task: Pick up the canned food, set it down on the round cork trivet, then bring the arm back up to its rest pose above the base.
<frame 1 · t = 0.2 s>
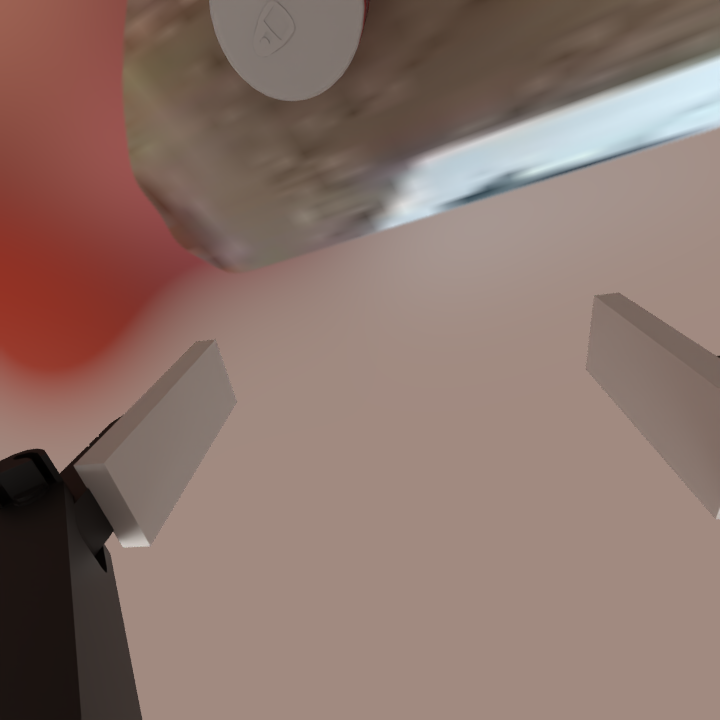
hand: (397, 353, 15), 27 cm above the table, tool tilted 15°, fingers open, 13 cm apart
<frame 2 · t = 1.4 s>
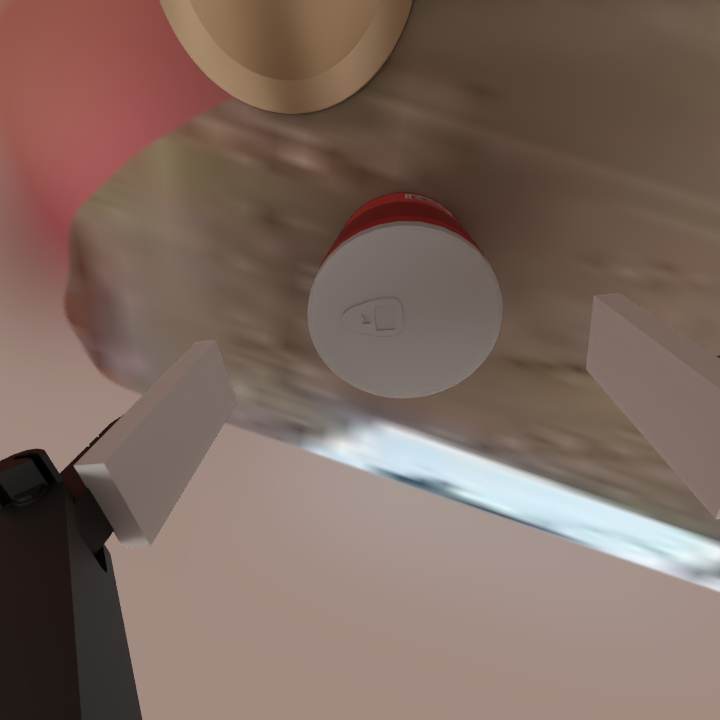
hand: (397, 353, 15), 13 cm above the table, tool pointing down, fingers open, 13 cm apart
canned food: (400, 253, 26), on the table
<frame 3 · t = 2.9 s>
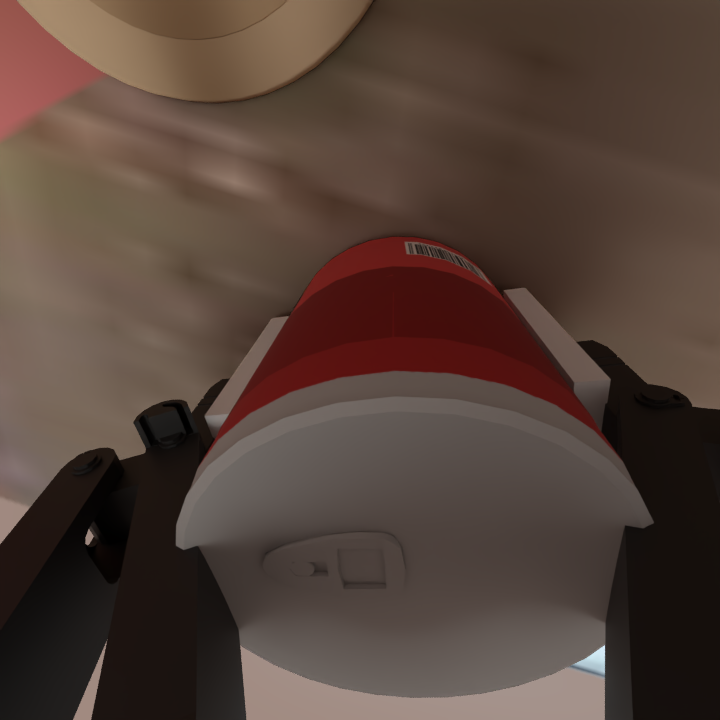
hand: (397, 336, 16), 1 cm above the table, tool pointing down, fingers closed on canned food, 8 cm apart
canned food: (397, 326, 17), on the table, touching gripper
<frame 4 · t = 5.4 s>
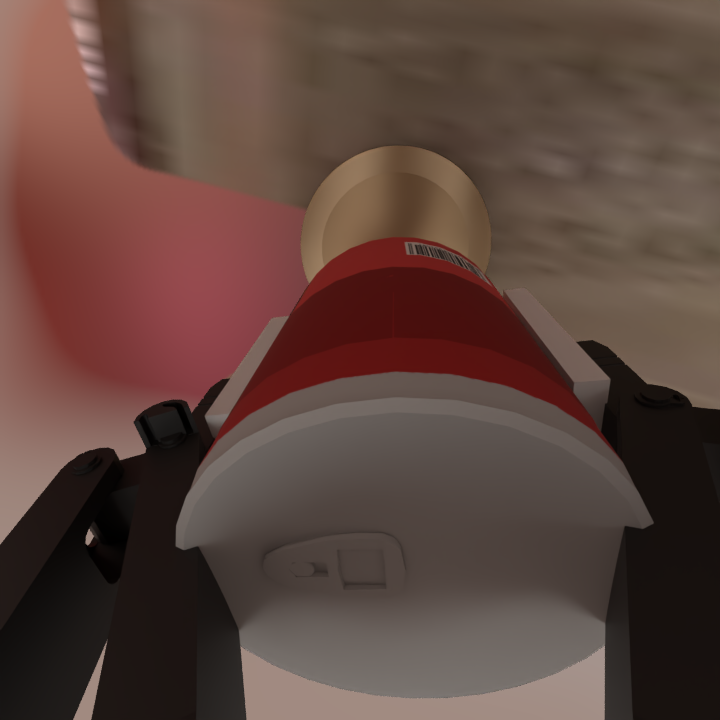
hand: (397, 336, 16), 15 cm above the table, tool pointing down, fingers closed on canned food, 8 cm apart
trivet: (394, 249, 29), on the table
canned food: (397, 326, 17), point 14 cm above the table, touching gripper
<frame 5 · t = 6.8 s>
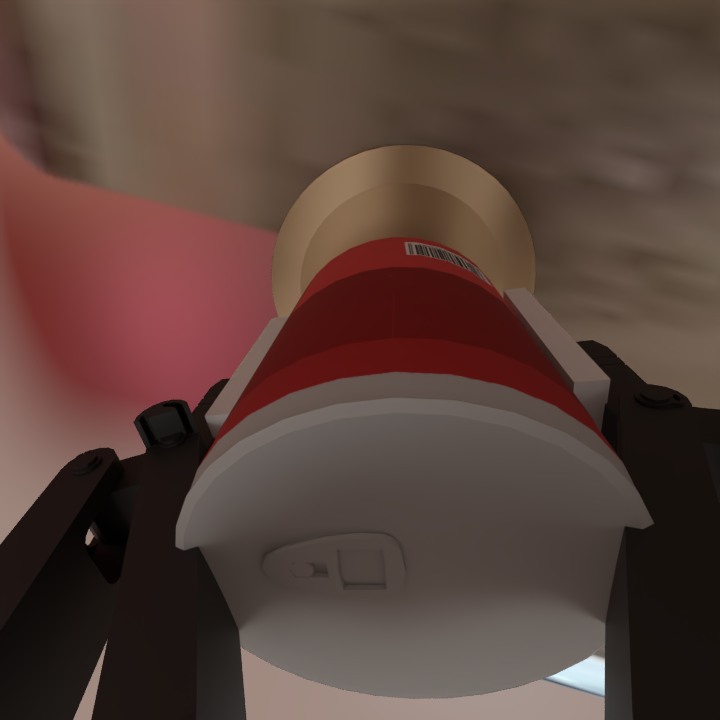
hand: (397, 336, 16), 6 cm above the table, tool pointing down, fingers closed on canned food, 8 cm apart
trivet: (399, 286, 21), on the table
canned food: (397, 326, 17), point 5 cm above the table, touching gripper
when the fingers open (3 cm above the table, at t = 7.9 s): canned food drops 1 cm, resting on trivet.
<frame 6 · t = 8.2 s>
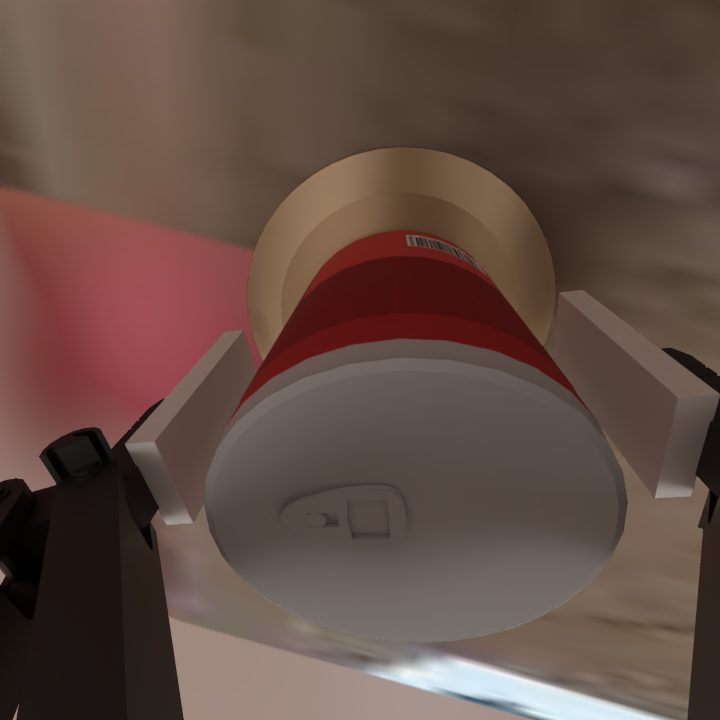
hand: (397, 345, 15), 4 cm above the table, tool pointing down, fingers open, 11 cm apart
trivet: (396, 311, 18), on the table
canned food: (398, 316, 18), point 1 cm above the table, touching trivet
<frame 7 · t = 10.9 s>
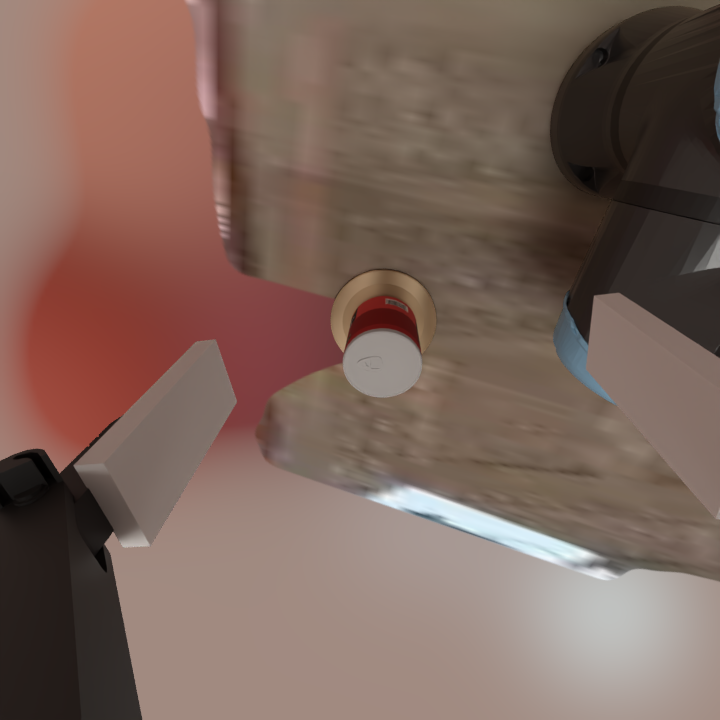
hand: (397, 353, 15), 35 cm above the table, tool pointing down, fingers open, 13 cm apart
trivet: (383, 320, 51), on the table
canned food: (383, 322, 51), point 1 cm above the table, touching trivet
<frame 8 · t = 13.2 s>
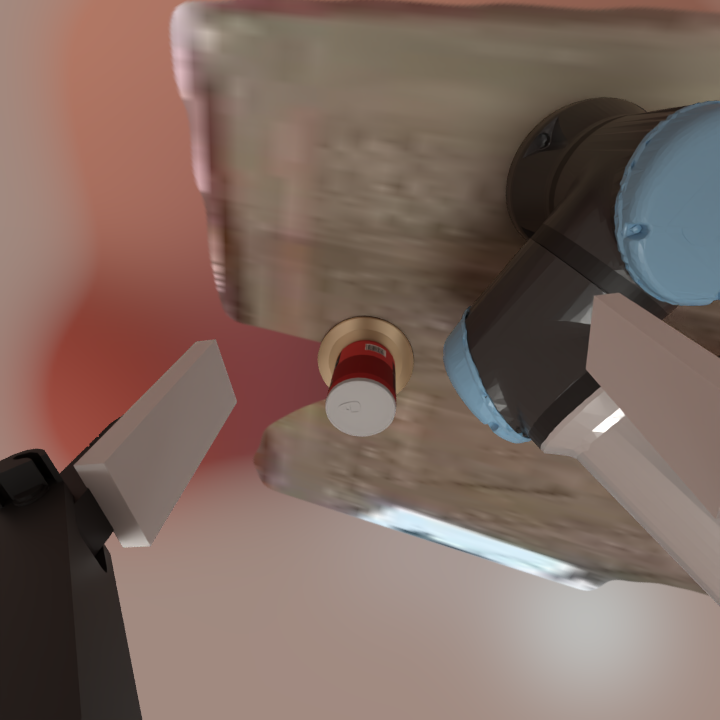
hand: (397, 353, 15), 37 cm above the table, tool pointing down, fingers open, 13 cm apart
trivet: (365, 360, 56), on the table
canned food: (365, 362, 56), point 1 cm above the table, touching trivet
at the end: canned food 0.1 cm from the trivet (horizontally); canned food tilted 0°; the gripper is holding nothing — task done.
